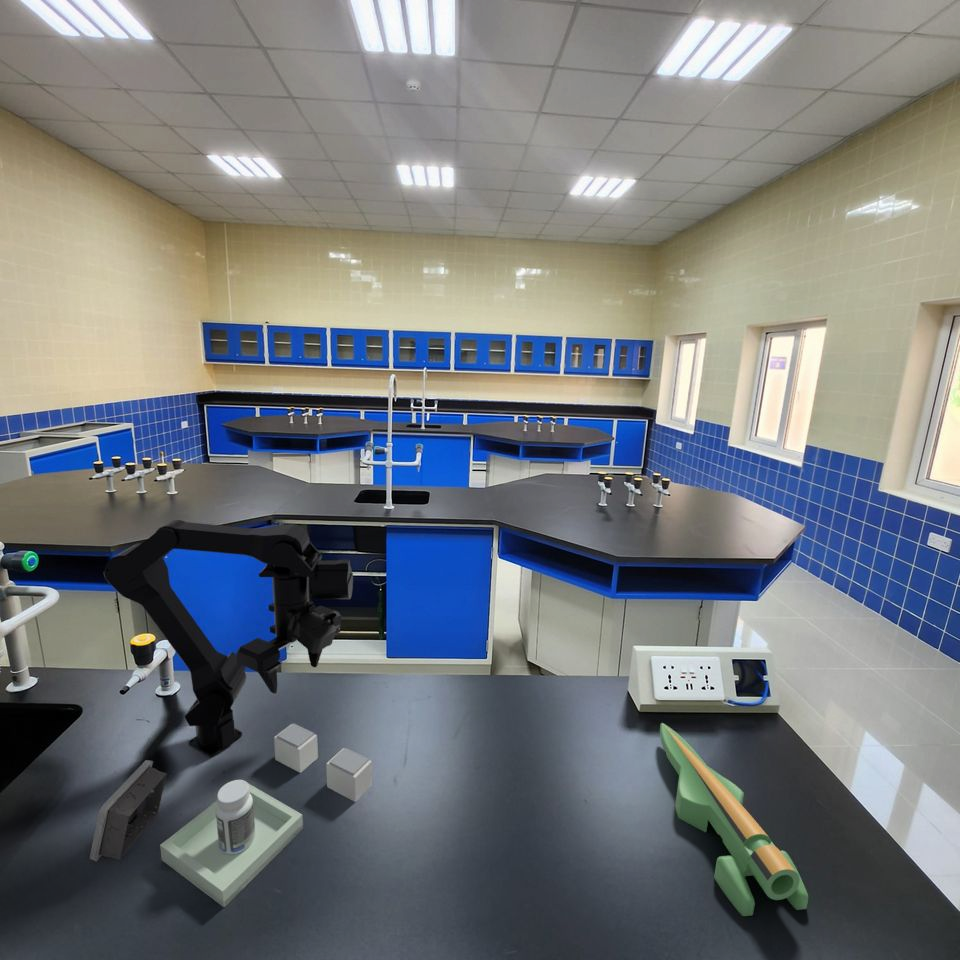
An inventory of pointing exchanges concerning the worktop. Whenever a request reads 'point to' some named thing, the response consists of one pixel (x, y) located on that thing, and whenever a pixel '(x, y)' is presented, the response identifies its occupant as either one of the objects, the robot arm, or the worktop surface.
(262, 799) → the tray
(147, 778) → the electrical switch
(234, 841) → the pill bottle
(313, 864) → the worktop surface
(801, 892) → the green toy rocket
